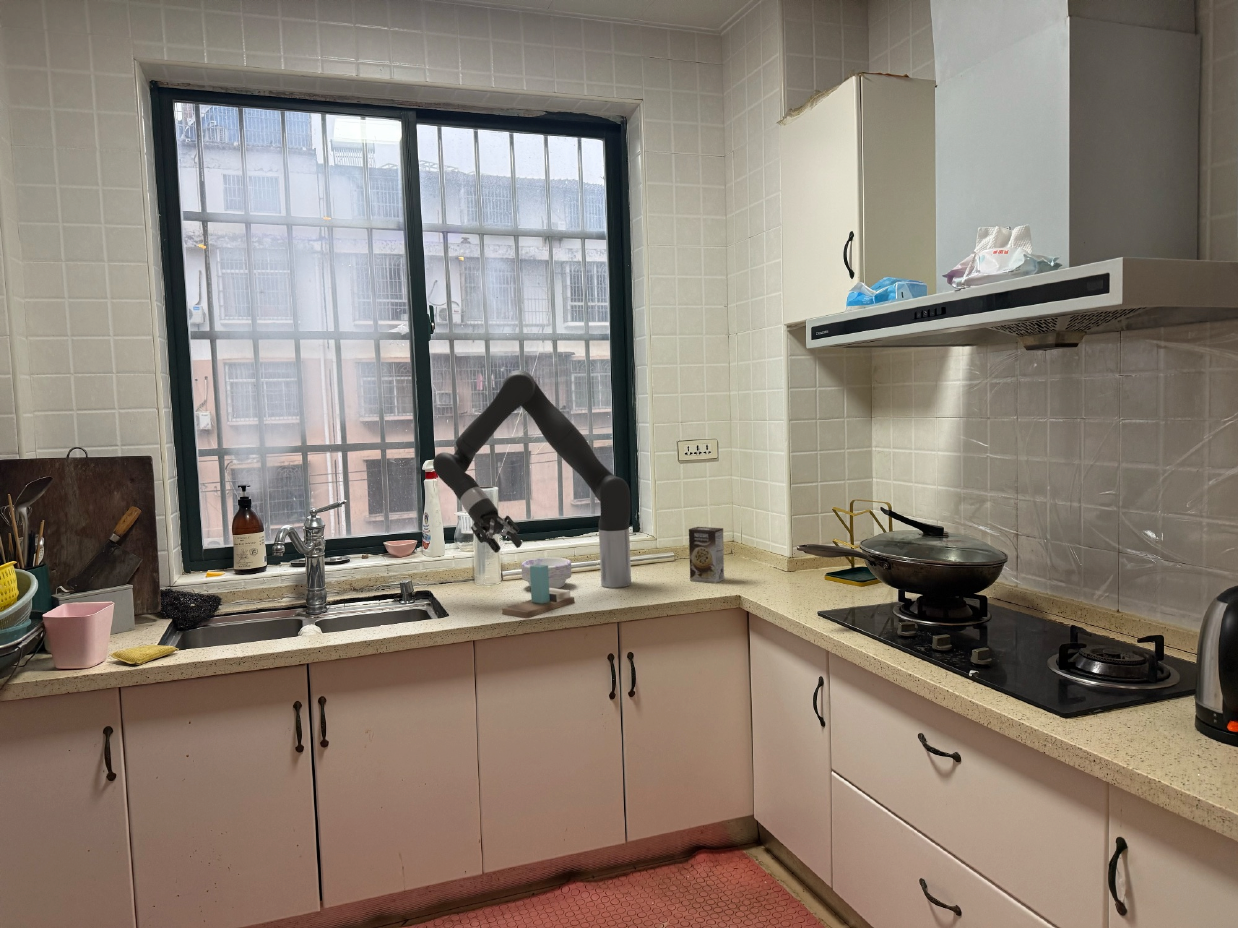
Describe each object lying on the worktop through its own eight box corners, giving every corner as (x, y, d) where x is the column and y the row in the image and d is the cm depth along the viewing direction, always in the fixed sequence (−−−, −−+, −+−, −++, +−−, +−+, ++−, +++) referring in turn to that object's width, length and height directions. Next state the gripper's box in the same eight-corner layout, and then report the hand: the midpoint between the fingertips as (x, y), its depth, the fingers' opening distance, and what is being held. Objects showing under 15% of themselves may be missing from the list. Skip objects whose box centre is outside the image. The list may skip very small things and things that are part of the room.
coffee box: (689, 581, 261) (687, 529, 260) (698, 577, 267) (696, 525, 266) (716, 583, 257) (714, 530, 255) (725, 579, 262) (723, 527, 261)
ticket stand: (550, 598, 245) (549, 586, 245) (574, 602, 240) (573, 589, 239) (502, 613, 230) (501, 600, 229) (526, 617, 224) (526, 604, 224)
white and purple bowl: (570, 591, 253) (569, 565, 253) (519, 593, 254) (517, 567, 253) (574, 581, 269) (573, 556, 268) (526, 582, 269) (524, 557, 268)
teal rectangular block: (538, 599, 238) (537, 564, 237) (549, 601, 235) (548, 565, 234) (531, 601, 235) (529, 566, 234) (542, 603, 233) (540, 567, 232)
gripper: (466, 500, 239) (497, 543, 233) (502, 494, 251) (533, 535, 245) (454, 518, 243) (484, 561, 237) (490, 511, 254) (520, 552, 248)
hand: (509, 548), depth 241 cm, fingers open, 8 cm apart
